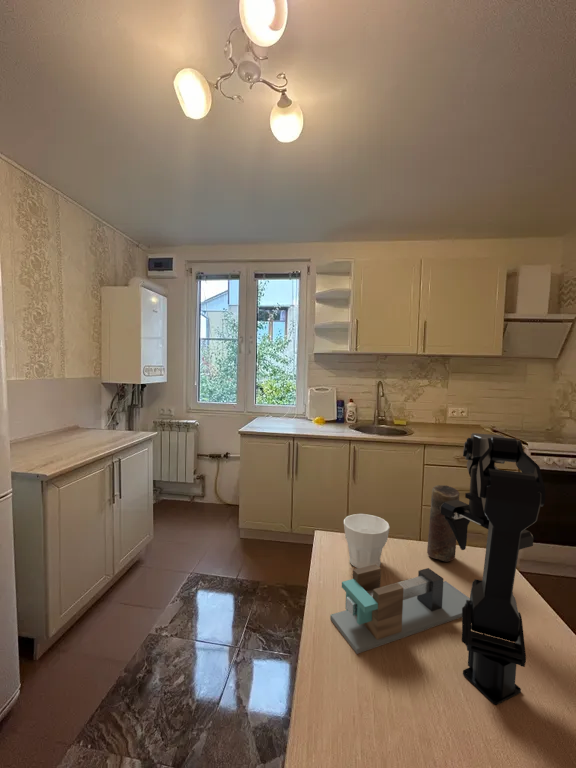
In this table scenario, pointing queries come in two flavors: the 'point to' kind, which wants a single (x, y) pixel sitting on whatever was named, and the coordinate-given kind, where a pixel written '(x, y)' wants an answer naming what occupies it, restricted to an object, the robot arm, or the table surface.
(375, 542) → the cup
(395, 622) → the bearing block
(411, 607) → the base board
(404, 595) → the shaft
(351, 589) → the spacer
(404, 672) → the table surface
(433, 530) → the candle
